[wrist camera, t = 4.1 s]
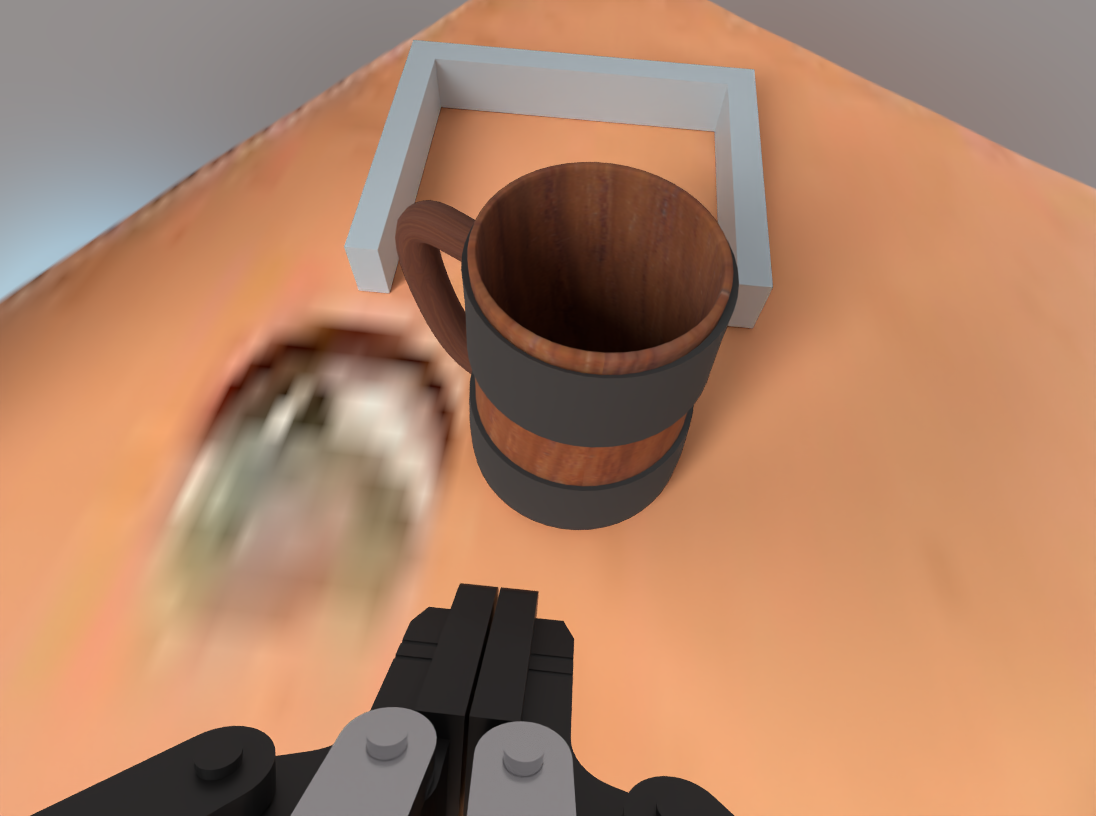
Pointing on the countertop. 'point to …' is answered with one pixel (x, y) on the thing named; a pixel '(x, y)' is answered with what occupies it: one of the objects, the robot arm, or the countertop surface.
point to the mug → (577, 331)
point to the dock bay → (574, 94)
